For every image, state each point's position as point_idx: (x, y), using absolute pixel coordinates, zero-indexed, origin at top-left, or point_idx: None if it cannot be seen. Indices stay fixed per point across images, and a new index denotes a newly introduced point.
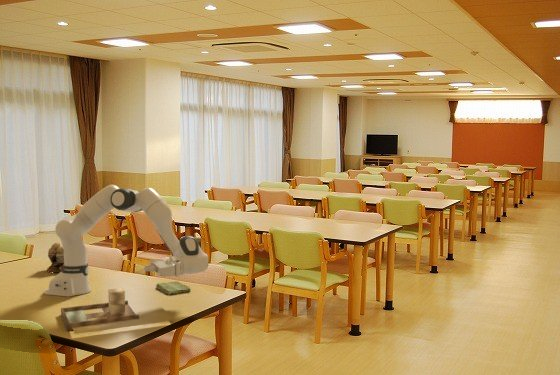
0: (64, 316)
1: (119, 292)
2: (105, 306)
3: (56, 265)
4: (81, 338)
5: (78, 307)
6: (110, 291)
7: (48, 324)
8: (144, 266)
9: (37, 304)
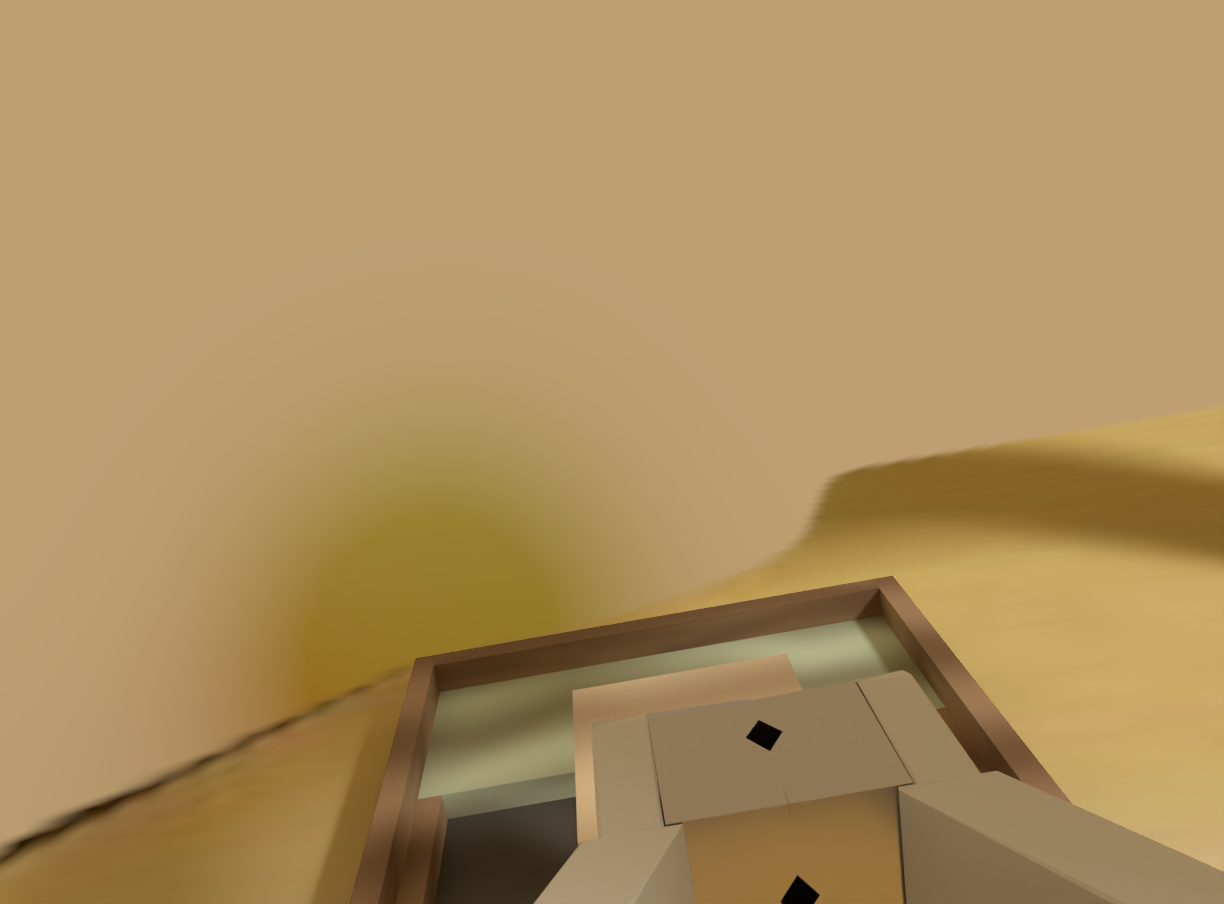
0: (633, 622)
1: (578, 784)
2: None
3: None
4: (187, 802)
5: (927, 660)
6: (655, 681)
7: (658, 612)
8: (875, 680)
9: (1197, 499)
